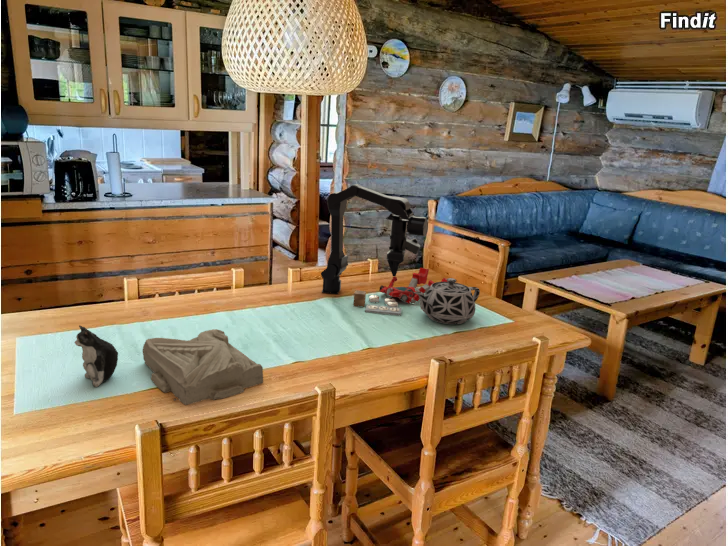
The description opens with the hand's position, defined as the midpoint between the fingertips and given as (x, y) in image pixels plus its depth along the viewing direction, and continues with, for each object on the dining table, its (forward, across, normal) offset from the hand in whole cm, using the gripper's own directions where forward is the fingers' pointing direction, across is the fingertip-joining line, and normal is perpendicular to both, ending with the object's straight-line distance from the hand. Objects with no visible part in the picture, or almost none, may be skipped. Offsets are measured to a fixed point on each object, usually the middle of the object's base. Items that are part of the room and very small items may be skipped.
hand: (394, 272), depth 212 cm
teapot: (+12, -12, -20) cm, 26 cm away
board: (+12, -10, +3) cm, 16 cm away
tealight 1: (+12, 0, +7) cm, 14 cm away
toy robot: (+13, +12, -7) cm, 19 cm away
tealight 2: (+12, -1, +1) cm, 12 cm away
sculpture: (+13, -72, +47) cm, 87 cm away
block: (+12, -6, +12) cm, 18 cm away
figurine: (+12, -82, +70) cm, 109 cm away
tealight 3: (+12, -5, 0) cm, 13 cm away
